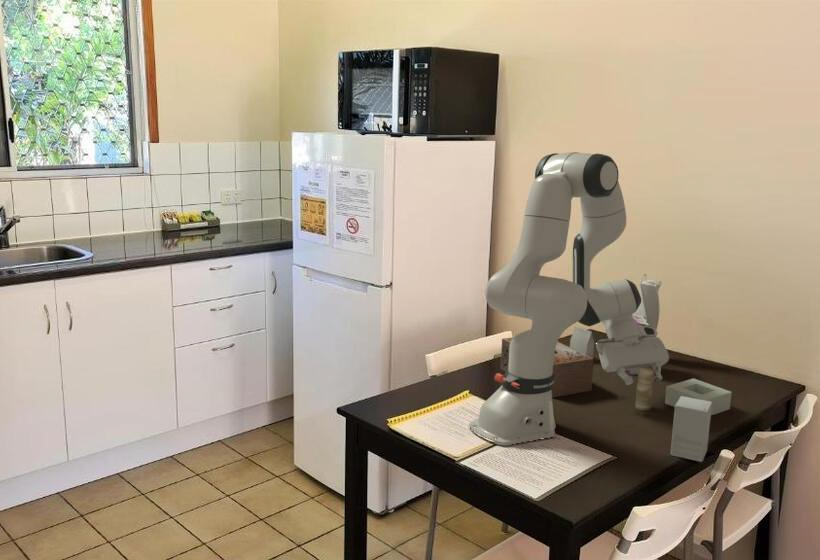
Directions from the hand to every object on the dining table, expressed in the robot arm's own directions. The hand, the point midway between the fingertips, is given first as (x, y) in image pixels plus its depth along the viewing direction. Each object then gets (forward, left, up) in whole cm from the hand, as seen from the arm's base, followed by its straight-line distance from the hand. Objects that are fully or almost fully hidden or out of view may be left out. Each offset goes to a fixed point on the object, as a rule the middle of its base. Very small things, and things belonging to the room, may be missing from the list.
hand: (644, 382), depth 199 cm
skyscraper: (+34, +28, -8) cm, 44 cm away
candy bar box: (+23, +22, -8) cm, 32 cm away
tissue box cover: (-8, +30, -8) cm, 32 cm away
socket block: (+14, -7, -7) cm, 17 cm away
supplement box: (-13, -24, -8) cm, 29 cm away
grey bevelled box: (+16, +38, -8) cm, 42 cm away
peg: (0, 0, -7) cm, 7 cm away
